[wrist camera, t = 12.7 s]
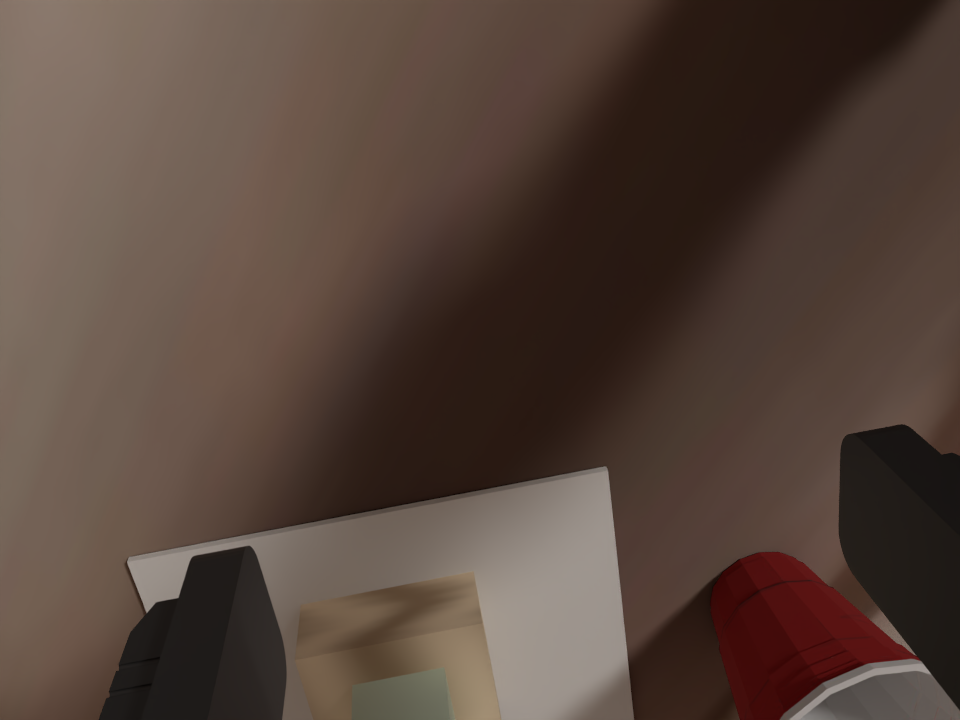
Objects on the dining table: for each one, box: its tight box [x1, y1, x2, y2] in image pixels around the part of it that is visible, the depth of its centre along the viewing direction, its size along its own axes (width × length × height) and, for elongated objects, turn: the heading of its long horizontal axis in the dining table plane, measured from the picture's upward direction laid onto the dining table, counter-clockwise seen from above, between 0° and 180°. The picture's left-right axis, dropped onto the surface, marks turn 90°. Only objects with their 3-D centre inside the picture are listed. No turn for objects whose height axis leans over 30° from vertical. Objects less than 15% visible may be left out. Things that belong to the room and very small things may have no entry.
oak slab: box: [295, 571, 501, 720], centre depth 46 cm, size 9×9×4 cm
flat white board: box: [127, 466, 634, 720], centre depth 48 cm, size 24×18×1 cm
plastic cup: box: [710, 552, 960, 720], centre depth 44 cm, size 11×11×12 cm
